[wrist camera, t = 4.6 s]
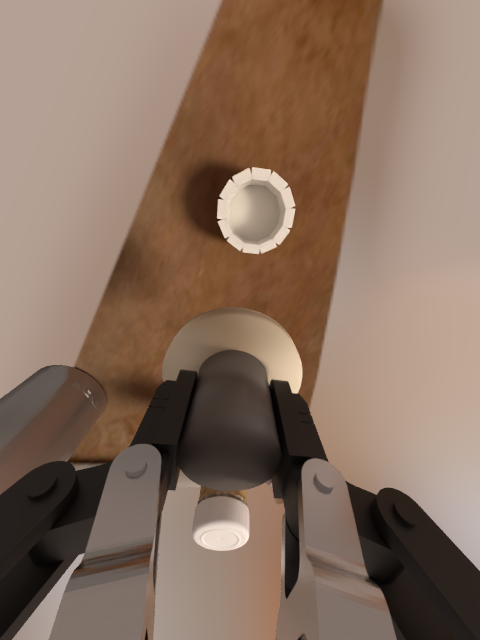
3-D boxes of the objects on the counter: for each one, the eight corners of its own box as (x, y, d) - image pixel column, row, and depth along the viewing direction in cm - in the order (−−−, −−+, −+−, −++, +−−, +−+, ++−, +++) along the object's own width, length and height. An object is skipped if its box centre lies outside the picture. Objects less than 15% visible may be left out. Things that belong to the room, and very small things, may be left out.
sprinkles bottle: (205, 408, 30) (179, 541, 18) (226, 387, 28) (213, 517, 16) (232, 423, 31) (226, 559, 19) (254, 404, 29) (261, 538, 17)
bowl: (237, 257, 21) (236, 264, 18) (210, 195, 19) (204, 191, 16) (294, 232, 20) (303, 235, 17) (273, 163, 18) (279, 152, 15)
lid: (205, 427, 14) (189, 531, 9) (141, 339, 11) (74, 423, 7) (313, 391, 13) (355, 490, 8) (270, 284, 10) (296, 340, 5)
